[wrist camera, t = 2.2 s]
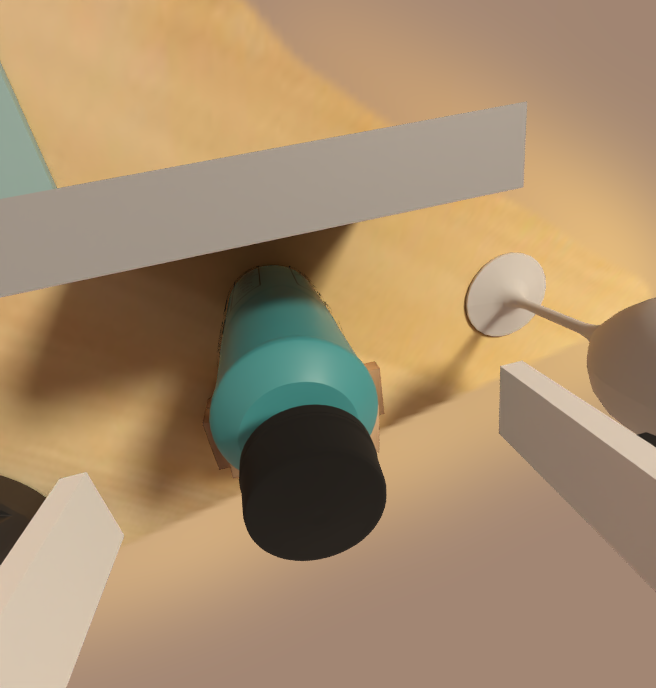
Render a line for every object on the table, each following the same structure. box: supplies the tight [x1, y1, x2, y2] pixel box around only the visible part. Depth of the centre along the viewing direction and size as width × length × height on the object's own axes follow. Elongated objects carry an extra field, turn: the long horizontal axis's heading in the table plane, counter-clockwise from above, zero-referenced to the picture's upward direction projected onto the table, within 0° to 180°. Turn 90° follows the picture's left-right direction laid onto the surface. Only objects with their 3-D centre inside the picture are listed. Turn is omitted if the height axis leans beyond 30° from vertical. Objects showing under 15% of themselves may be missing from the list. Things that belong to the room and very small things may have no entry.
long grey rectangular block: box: [0, 102, 527, 297], centre depth 17 cm, size 18×2×15 cm, turn 100°
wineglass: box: [466, 253, 656, 436], centre depth 22 cm, size 8×8×21 cm
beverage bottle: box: [209, 265, 386, 561], centre depth 18 cm, size 6×7×20 cm
